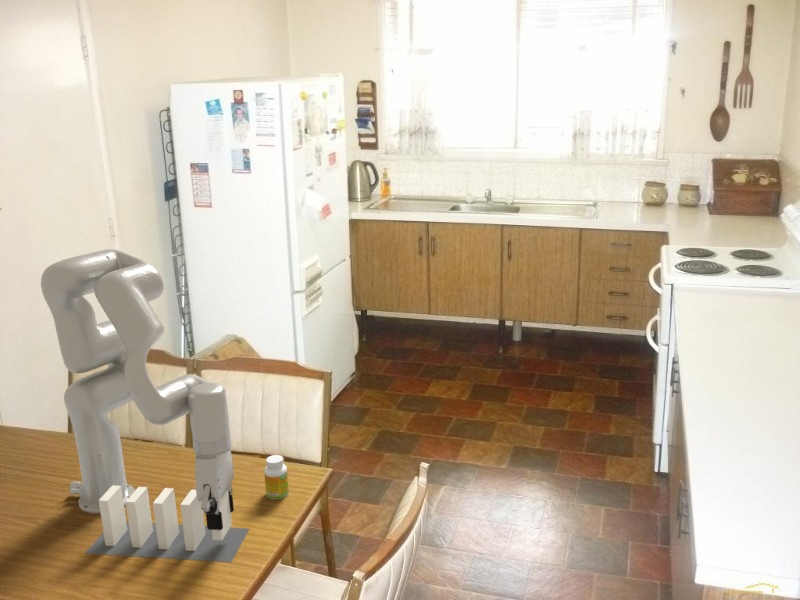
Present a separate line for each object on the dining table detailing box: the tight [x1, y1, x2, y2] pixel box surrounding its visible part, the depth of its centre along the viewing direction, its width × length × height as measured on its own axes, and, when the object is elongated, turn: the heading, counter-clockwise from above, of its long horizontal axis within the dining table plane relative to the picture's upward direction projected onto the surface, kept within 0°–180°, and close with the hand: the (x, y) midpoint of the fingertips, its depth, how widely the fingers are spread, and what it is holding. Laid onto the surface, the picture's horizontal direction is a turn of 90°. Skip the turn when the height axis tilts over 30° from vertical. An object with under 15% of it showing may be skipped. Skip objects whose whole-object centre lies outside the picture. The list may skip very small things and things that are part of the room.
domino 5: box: [210, 490, 233, 541], centre depth 160 cm, size 2×6×11 cm, turn 173°
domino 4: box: [180, 488, 205, 551], centre depth 162 cm, size 2×6×11 cm, turn 173°
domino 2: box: [125, 486, 153, 548], centre depth 163 cm, size 2×6×11 cm, turn 173°
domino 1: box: [99, 485, 127, 546], centre depth 164 cm, size 2×6×11 cm, turn 173°
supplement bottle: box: [263, 454, 290, 500], centre depth 181 cm, size 5×5×10 cm
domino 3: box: [152, 487, 179, 549], centre depth 163 cm, size 2×6×11 cm, turn 173°
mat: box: [85, 521, 250, 563], centre depth 164 cm, size 32×12×1 cm, turn 83°
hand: (220, 519), depth 161 cm, fingers closed on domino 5, 5 cm apart
